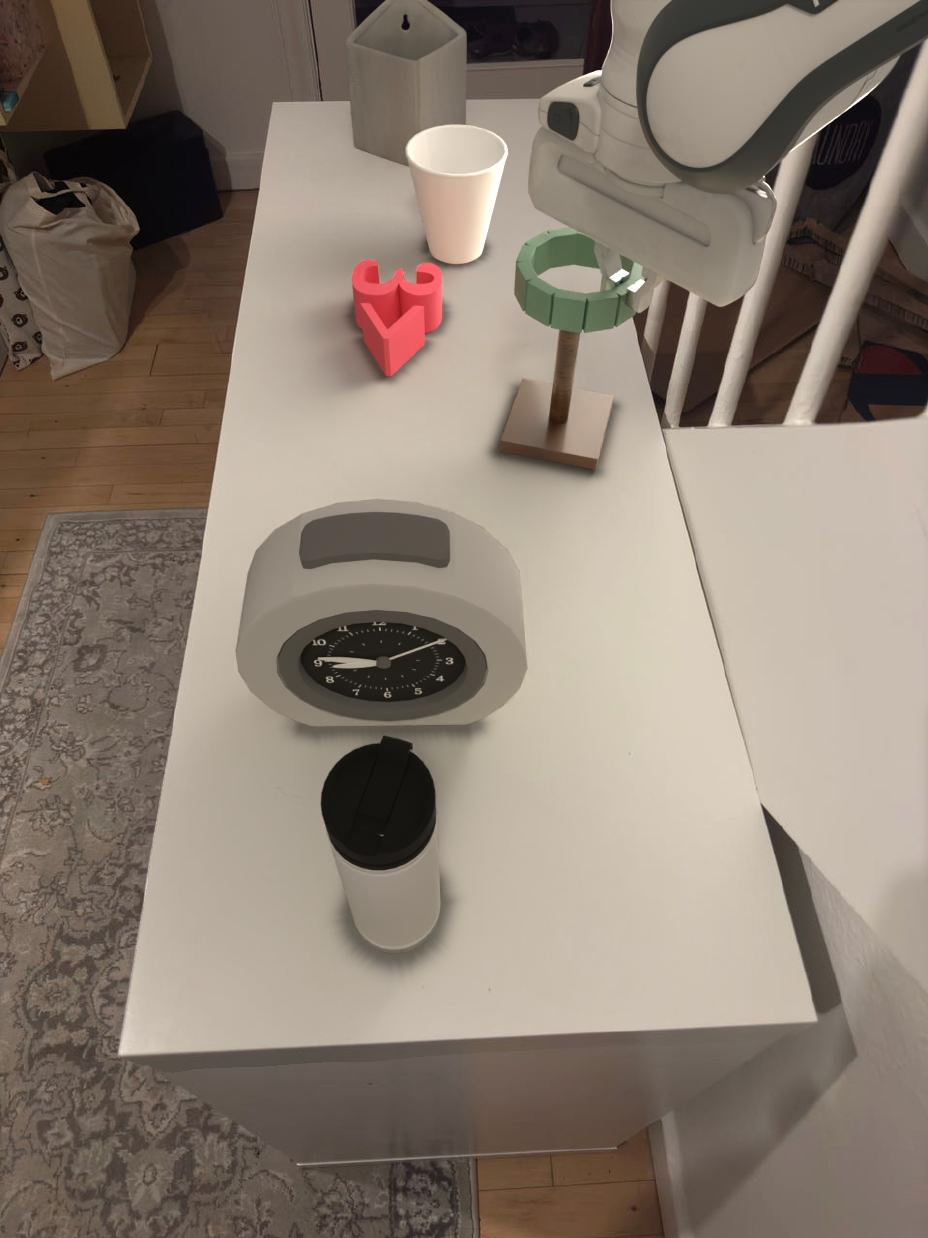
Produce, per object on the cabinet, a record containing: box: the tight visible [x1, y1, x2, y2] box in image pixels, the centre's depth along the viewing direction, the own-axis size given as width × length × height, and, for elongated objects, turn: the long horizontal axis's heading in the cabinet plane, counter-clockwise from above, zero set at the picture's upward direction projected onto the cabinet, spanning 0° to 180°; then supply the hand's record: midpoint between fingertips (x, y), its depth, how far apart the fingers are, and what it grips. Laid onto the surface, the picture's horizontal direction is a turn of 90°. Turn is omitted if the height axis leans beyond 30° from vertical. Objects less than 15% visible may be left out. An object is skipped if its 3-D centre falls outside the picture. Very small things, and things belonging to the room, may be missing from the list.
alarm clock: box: [235, 498, 528, 727], centre depth 65 cm, size 21×8×20 cm, turn 91°
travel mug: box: [320, 735, 441, 954], centre depth 54 cm, size 6×7×20 cm
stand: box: [499, 329, 615, 471], centre depth 86 cm, size 10×10×14 cm
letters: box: [351, 259, 443, 377], centre depth 98 cm, size 14×10×5 cm
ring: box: [513, 226, 646, 334], centre depth 74 cm, size 11×11×3 cm
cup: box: [405, 124, 509, 265], centre depth 105 cm, size 12×12×12 cm
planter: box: [344, 0, 468, 167], centre depth 116 cm, size 16×8×19 cm, turn 101°
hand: (624, 299), depth 72 cm, fingers closed on ring
